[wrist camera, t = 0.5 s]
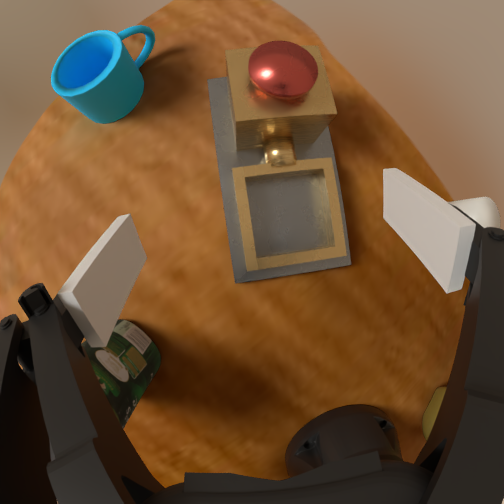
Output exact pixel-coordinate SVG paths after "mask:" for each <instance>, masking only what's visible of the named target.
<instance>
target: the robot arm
mask: <svg viewBox="0 0 504 504" xmlns="http://www.w3.org/2000/svg"><path fill="white" fill-rule="evenodd" d="M383 185H384V214H383V218H384V219H385V220H386V221H387V223H388V224H389V225H390V226H391V227H392V228H393V229H394V230H395V231H396V232H397V234H398V235H399V236H400V237H401V238H402V239H403V240H404V242H405V243H406V244H407V245H408V246H409V247H410V248H411V250H412V251H413V252H414V253H415V254H416V256H417V257H418V258H419V259H420V260H421V262H422V263H423V264H424V265H425V266H426V268H427V269H428V270H429V271H430V273H431V274H432V275H433V276H434V278H435V279H436V280H437V281H438V283H439V284H440V285H441V287H442V288H443V289H444V291H445V292H446V293H450V292H454V291H457V290H460V289H462V286H463V282H464V278H465V276H466V277H467V278H468V279H469V280H470V285H469V288H468V292H467V295H466V298H465V302H464V305H465V306H466V307H465V313H464V319H463V324H462V329H461V334H460V339H459V343H458V348H457V352H456V356H455V360H454V364H453V367H452V371H451V374H450V378H449V381H448V385H447V388H446V391H445V394H444V397H443V400H442V403H441V406H440V409H439V412H438V414H437V417H436V420H435V422H434V425H433V428H432V430H431V433H430V435H429V437H428V440H427V442H426V444H425V445H424V447H423V449H422V451H421V452H420V454H419V456H418V457H417V459H416V461H415V463H414V464H412V463H408V462H404V461H403V459H402V456H401V450H400V445H399V440H398V435H397V431H396V428H395V426H394V424H393V423H392V421H391V420H390V419H389V418H388V417H387V415H386V414H385V413H384V412H382V411H381V410H379V409H378V408H375V407H372V406H368V405H350V406H344V407H340V408H336V409H334V410H331V411H328V412H326V413H324V414H322V415H320V416H318V417H316V418H315V419H313V420H311V421H310V422H309V423H307V424H306V425H305V426H304V427H302V428H301V429H300V430H299V431H298V432H297V433H296V435H295V436H294V437H293V438H292V440H291V441H290V443H289V445H288V448H287V450H286V455H285V461H286V466H287V471H288V474H289V476H290V478H289V479H286V480H281V481H275V480H268V479H261V478H254V477H248V476H243V475H237V474H232V473H187V472H185V477H184V482H183V483H179V484H175V485H172V486H169V487H167V488H164V487H163V486H162V485H161V484H160V483H159V482H158V481H157V480H156V479H155V478H154V477H153V476H152V474H151V473H150V472H149V470H148V469H147V467H146V466H145V464H144V463H143V461H142V459H141V458H140V456H139V455H138V453H137V452H136V450H135V448H134V447H133V445H132V443H131V442H130V440H129V438H128V437H127V435H126V433H125V431H124V430H123V428H122V426H121V424H120V422H119V421H118V419H117V417H116V415H115V413H114V411H113V409H112V407H111V405H110V403H109V401H108V399H107V397H106V395H105V393H104V391H103V389H102V387H101V385H100V383H99V381H98V378H97V376H96V374H95V372H94V369H93V367H92V365H91V362H90V360H89V358H88V355H87V353H86V350H85V349H84V347H83V346H82V345H81V342H82V340H83V338H84V337H85V339H86V340H87V342H88V343H89V345H90V346H91V347H106V346H107V343H108V341H109V338H110V336H111V334H112V331H113V329H114V327H115V325H116V322H117V320H118V318H119V316H120V313H121V311H122V309H123V307H124V305H125V302H126V300H127V298H128V296H129V294H130V292H131V290H132V288H133V285H134V283H135V281H136V279H137V277H138V275H139V273H140V271H141V269H142V267H143V265H144V263H145V261H146V259H147V257H146V254H145V252H144V249H143V247H142V244H141V241H140V239H139V236H138V233H137V231H136V228H135V225H134V223H133V220H132V217H131V214H127V215H123V216H119V217H117V218H116V220H115V221H114V222H113V223H112V224H111V225H110V227H109V228H108V229H107V230H106V231H105V232H104V234H103V235H102V236H101V237H100V239H99V240H98V241H97V242H96V243H95V245H94V246H93V247H92V248H91V250H90V251H89V252H88V253H87V255H86V256H85V257H84V258H83V260H82V261H81V262H80V264H79V265H78V266H77V268H76V269H75V270H74V272H73V273H72V274H71V276H70V277H69V278H68V280H67V281H66V282H65V284H64V285H63V287H62V288H61V289H60V291H59V292H58V294H57V295H56V297H55V298H54V299H53V300H52V298H51V297H50V295H49V293H48V292H47V290H46V288H45V286H44V285H43V283H38V284H35V285H33V286H31V287H29V288H28V289H27V290H25V291H24V292H23V293H22V294H21V296H20V297H19V300H18V302H19V304H20V305H21V307H22V309H23V310H24V312H25V313H26V315H27V316H28V318H29V320H28V321H25V322H23V323H21V321H20V320H19V318H18V317H17V315H16V314H12V315H9V316H8V317H5V318H4V319H2V320H1V322H0V504H57V501H58V504H502V501H503V498H504V230H502V229H499V228H496V227H486V228H484V227H482V226H481V225H480V224H479V223H477V222H476V221H475V220H474V219H472V218H471V217H469V216H468V215H467V214H466V213H464V212H463V211H462V210H461V209H459V208H458V207H456V206H454V205H452V204H449V203H447V202H446V201H445V200H443V199H442V198H440V197H439V196H438V195H436V194H435V193H433V192H432V191H431V190H429V189H428V188H426V187H425V186H423V185H422V184H420V183H419V182H417V181H416V180H414V179H413V178H411V177H410V176H408V175H406V174H405V173H403V172H402V171H400V170H399V169H397V168H390V169H383ZM18 362H19V364H20V365H21V366H22V367H23V370H22V369H21V367H20V366H19V364H18ZM49 439H50V440H49ZM50 442H51V446H52V449H53V452H54V455H55V460H53V461H51V454H50Z"/></svg>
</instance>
